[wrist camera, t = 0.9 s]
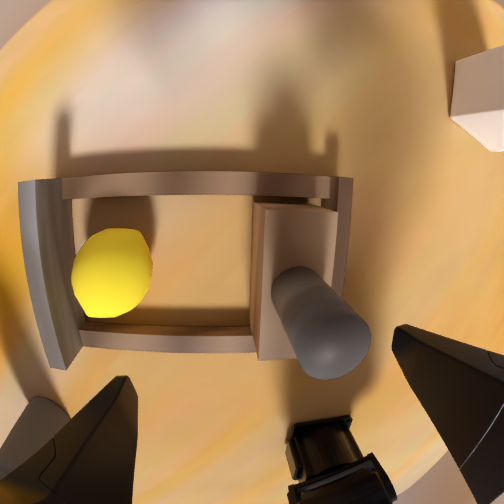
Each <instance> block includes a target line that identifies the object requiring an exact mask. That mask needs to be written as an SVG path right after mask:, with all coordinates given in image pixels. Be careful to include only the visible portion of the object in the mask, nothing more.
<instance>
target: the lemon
mask: <svg viewBox="0 0 504 504" xmlns="http://www.w3.org/2000/svg"><path fill="white" fill-rule="evenodd" d="M152 266H153V263H152V259H151V255H150V251H149V248H148V246H147V244H146V242H145V240H144V237H143V236H142V234H141V233H140V231H137V230H134V229H126V228H110V229H105V230H103V231H101V232H98V233H96V234H94V235H92V236H91V237H90V238H89V239H88V240H87V241H86V242H85V243H84V245H83V246H82V248H81V249H80V251H79V252H78V254H77V255H76V257H75V259H74V264H73V269H72V274H71V283H72V287H73V290H74V295H75V296H76V298H77V300H78V301H79V303H80V305H81V307H82V308H83V310H84V311H85V313H86V315H87V316H88V317H97V318H108V317H116V316H119V315H121V314H124V313H126V312H128V311H130V310H132V309H133V308H134V307H136V306H137V305H138V303H139V302H140V301H141V300H142V298H143V297H144V296H145V295H146V294H147V292H148V290H149V285H150V281H151V276H152Z"/></svg>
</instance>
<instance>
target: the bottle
mask: <svg viewBox="0 0 504 504" xmlns="http://www.w3.org/2000/svg"><path fill="white" fill-rule="evenodd" d="M69 420H71V419H70V417H69V416H68V415H67V413H66V412H65V411H64V410H63V409H62V408H61V407H59V406H58V405H57V404H55V403H54V402H52V401H50V400H48V399H46V398H43V397H34V398H33V399H31V401H30V402H29V403H28V405H27V406H26V408H25V409H24V411H23V412H22V414H21V416H20V417H19V419H18V420H17V422H16V423H15V425H14V427H13V428H12V430H11V432H10V433H9V435H8V437H7V438H6V440H5V442H4V443H3V445H2V447H1V448H0V479H2V478H3V477H5V476H6V475H7V474H9V473H10V472H11V471H13V470H14V469H15V468H17V467H18V466H19V465H20V464H22V463H23V462H24V461H26V460H27V459H28V458H29V457H31V456H32V455H33V454H34V453H35V452H37V451H38V450H39V449H40V448H41V447H42V446H43V445H44V444H45V443H46V442H47V441H49V440H50V439H51V438H52V437H53V436H54V435H55V434H56V433H57V432H58V431H59V430H60V429H61V428H62V427H63V426H64V425H65V424H66V423H67V422H68V421H69Z"/></svg>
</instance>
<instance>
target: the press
mask: <svg viewBox="0 0 504 504" xmlns="http://www.w3.org/2000/svg"><path fill="white" fill-rule="evenodd" d="M352 192H353V178H347V177H329V176H317V175H303V174H287V173H267V172H236V171H169V172H140V173H120V174H105V175H92V176H80V177H69V178H57V179H40V180H30V181H23V182H18V199H19V218H20V230H21V240H22V249H23V256H24V263H25V270H26V276H27V281H28V286H29V292H30V296H31V301H32V305H33V310H34V314H35V318H36V322H37V326H38V329H39V333H40V337H41V340H42V343H43V347H44V350H45V353H46V356H47V359H48V362H49V365H50V368H56V369H61V370H67V369H68V367H69V366H70V364H71V363H72V361H73V360H74V358H75V357H76V355H77V354H78V352H79V351H80V349H81V348H82V347H83V346H86V347H95V348H105V349H117V350H130V351H146V352H169V353H250V352H256V348H255V344H254V340H253V335H252V331H251V327H250V326H229V327H191V326H151V325H129V324H112V323H97V322H86V321H85V316H84V311H83V308H82V307H81V305H80V303H79V301H78V300H77V298H76V296H75V295H74V290H73V287H72V283H71V274H72V269H73V264H74V259H75V248H74V237H73V223H72V203H71V199H79V198H95V197H116V196H144V195H259V196H288V197H309V198H322V204H321V207H322V208H326V209H329V210H332V211H336V212H338V222H337V234H336V246H335V256H334V266H333V275H332V284H331V288H332V289H333V290H334V291H335V292H336V293H337V294H338V295H339V296H340V297H341V298H342V294H343V286H344V279H345V271H346V262H347V253H348V243H349V233H350V221H351V207H352Z"/></svg>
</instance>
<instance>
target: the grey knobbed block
mask: <svg viewBox="0 0 504 504" xmlns="http://www.w3.org/2000/svg"><path fill="white" fill-rule="evenodd" d="M337 222H338V212H336V211H332V210H329V209H326V208H322V207H319V206H316V205H312V204H305V203H280V202H253V224H252V256H251V288H250V320H249V322H250V327H251V331H252V335H253V340H254V344H255V348H256V352H257V357H258V361H265V360H282V359H296V358H297V359H298V361H299V364H300V366H301V368H302V369H303V371H304V372H305V373H306V374H308V375H309V376H311V377H313V378H316V379H323V380H327V379H334V378H338V377H340V376H343V375H345V374H347V373H349V372H350V371H352V370H353V369H354V368H355V367H357V366H358V365H359V364H360V362H361V361H362V360H363V359H364V357H365V356H366V354H367V352H368V350H369V347H370V342H371V333H370V329H369V327H368V325H367V324H366V322H365V321H364V320H363V319H362V318H361V317H360V316H359V315H358V314H357V313H356V312H355V311H354V310H353V309H352V308H351V307H350V306H349V305H348V304H347V303H346V302H345V301H344V300H343V299H342V298H341V297H340V296H339V295H338V294H337V293H336V292H335V291H334V290H333V289H332V288H331V284H332V275H333V266H334V256H335V246H336V234H337Z"/></svg>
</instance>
